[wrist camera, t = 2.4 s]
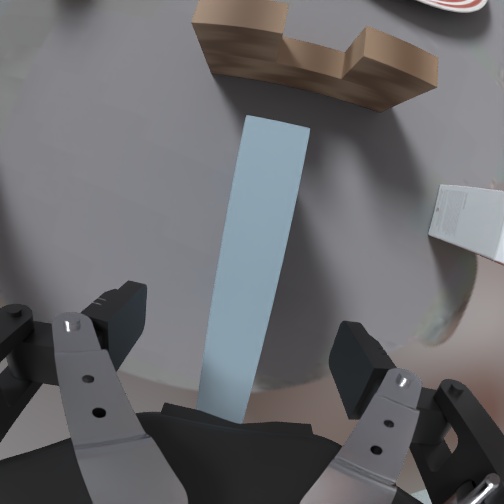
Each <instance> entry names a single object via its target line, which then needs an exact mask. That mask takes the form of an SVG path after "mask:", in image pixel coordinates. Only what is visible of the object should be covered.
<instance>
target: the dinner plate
mask: <svg viewBox="0 0 504 504" xmlns="http://www.w3.org/2000/svg"><path fill="white" fill-rule="evenodd" d="M416 1H419V2H421V3H424V4H427V5H429V6H432V7H435V8H439V9H442V10H446V11H451V12H459V13H470V12H475V11H478V10H480V9H481V8H483V7H484V6H485V4H486V3H487V0H416Z"/></svg>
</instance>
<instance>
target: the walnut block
mask: <svg viewBox="0 0 504 504" xmlns="http://www.w3.org/2000/svg"><path fill="white" fill-rule="evenodd" d="M288 7H289V4H286V3H280V2H275V1H269V0H199V2H198V5H197V8H196V10H195V13H194V16H193V19H192V22H191V23H192V25H193V28H194V30H195V33H196V35H197V38H198V41H199V43H200V46H201V48H202V51H203V53H204V56H205V59H206V61H207V64H208V66H209V69H210V72H211V73H214V74H222V75H229V76H236V77H243V78H249V79H255V80H260V81H266V82H271V83H276V84H281V85H286V86H290V87H295V88H299V89H303V90H307V91H311V92H315V93H319V94H323V95H326V96H330V97H333V98H337V99H340V100H344V101H347V102H350V103H353V104H356V105H360V106H363V107H366V108H369V109H372V110H374V111H377V112H382V111H384V110H387V109H389V108H391V107H393V106H395V105H398V104H400V103H402V102H404V101H407V100H409V99H411V98H413V97H416V96H418V95H420V94H423V93H425V92H427V91H430V90H432V89H435V88H437V83H438V57H436V56H434V55H432V54H430V53H428V52H426V51H424V50H422V49H420V48H418V47H416V46H414V45H412V44H410V43H407V42H405V41H403V40H401V39H398V38H396V37H394V36H391V35H389V34H386V33H384V32H381V31H379V30H376V29H374V28H371V27H368V26H366V27H365V28H364V30H363V31H362V32H361V33H360V35H359V36H358V37H357V38H356V39H355V41H354V42H353V43H352V44H351V46H350V47H349V48H348V49H347V51H346V52H345V53H344V52H341V51H338V50H334V49H331V48H327V47H324V46H320V45H316V44H313V43H309V42H304V41H300V40H296V39H291V38H287V37H282V35H283V30H284V26H285V21H286V16H287V12H288Z"/></svg>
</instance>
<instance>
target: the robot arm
mask: <svg viewBox="0 0 504 504" xmlns="http://www.w3.org/2000/svg"><path fill="white" fill-rule="evenodd" d="M146 299H147V286H146V284H142V283H137V282H133V281H127V282H126V283H125V284H124V285H123V286H121V287H120V288H119V289H118V290H117V289H113V290H110V291H107V292H105V293H103V294H102V295H101V296H100V297H99V298H97V299H96V300H95V301H94V303H91V304H90V305H89V306H88V307H87V308H85V309H84V310H83V311H82V312H81V313H76V312H67V313H62V314H59V315H57V316H56V317H54V318H53V320H52V324H50V323H43V322H36V321H33V314H32V310H31V309H30V308H29V307H27V306H25V305H21V304H11V305H6V306H4V307H2V308H0V362H1V361H2V360H3V359H4V358H5V357H6V359H7V362H8V366H7V367H6V368H5V369H4V371H2V373H1V374H0V442H1V441H2V439H3V438H4V436H5V435H6V433H7V432H8V430H9V429H10V427H11V426H12V424H13V423H14V422H15V420H16V419H17V418H18V416H19V415H20V413H21V412H22V411H23V409H24V408H25V407H26V405H27V404H28V403H29V401H30V399H31V398H32V397H33V396H34V394H35V393H36V392H37V390H38V389H39V388H40V386H41V385H42V384H43V383H44V384H50V385H57V386H59V387H60V392H61V398H62V402H63V407H64V412H65V416H66V420H67V424H68V428H69V432H70V435H71V438H69V439H65V440H63V441H60V442H57V443H54V444H51V445H48V446H45V447H42V448H39V449H36V450H33V451H30V452H26V453H23V454H20V455H16V456H13V457H9V458H6V459H3V460H0V504H423V503H422V502H420V501H419V500H417V499H416V498H414V497H412V496H411V495H409V494H408V493H406V492H405V491H403V490H402V489H400V488H399V487H397V486H396V481H397V479H398V476H399V474H400V471H401V468H402V466H403V463H404V460H405V458H406V455H407V452H408V449H409V448H410V450H411V453H412V455H413V457H414V459H415V462H416V465H417V467H418V469H419V472H420V474H421V476H422V479H423V481H424V484H425V487H426V489H427V492H428V494H429V497H430V499H431V502H432V504H504V435H503V433H502V432H501V430H500V429H499V428H498V426H497V425H496V424H495V422H494V421H493V420H492V418H491V417H490V416H489V414H488V413H487V412H486V411H485V409H484V408H483V407H482V405H481V404H480V403H479V402H478V400H477V399H476V398H475V396H474V395H473V394H472V393H471V391H470V390H469V389H468V388H467V387H466V386H465V385H464V384H462V383H460V382H458V381H455V380H451V379H445V380H443V381H442V382H441V384H440V385H439V387H438V389H437V390H433V389H428V388H423V387H422V381H421V380H420V378H419V377H418V376H417V375H415V374H414V373H412V372H410V371H408V370H405V369H400V368H397V367H396V366H395V364H394V363H393V362H392V360H391V359H390V357H389V356H388V355H387V353H386V352H385V350H383V347H382V346H381V345H380V343H379V342H378V341H377V340H376V339H374V338H373V337H372V336H370V335H369V334H368V333H367V331H366V330H365V328H364V327H363V325H362V324H361V323H358V322H350V321H343V322H342V323H341V324H340V327H339V329H338V332H337V335H336V338H335V341H334V344H333V347H332V350H331V352H330V356H329V367H330V370H331V373H332V375H333V378H334V380H335V383H336V386H337V389H338V391H339V394H340V397H341V399H342V402H343V405H344V407H345V410H346V413H347V416H348V418H349V419H360V420H359V422H358V424H357V425H356V427H355V428H354V430H353V431H352V433H351V434H350V436H349V437H348V439H347V441H346V442H345V443H344V445H343V446H341V445H339V444H338V443H336V442H333V441H332V440H329V439H327V438H324V437H321V436H318V435H314V434H313V432H312V427H311V424H301V423H287V422H265V423H247V424H239V423H234V422H231V421H228V420H225V419H222V418H220V417H217V416H214V415H211V414H209V413H206V412H203V411H201V410H195V409H191V408H186V407H182V406H177V405H173V404H169V403H164V405H163V408H162V411H161V412H143V413H136V414H135V412H134V410H133V408H132V406H131V404H130V402H129V400H128V398H127V396H126V393H125V391H124V389H123V387H122V385H121V383H120V380H119V378H118V376H117V373H116V372H117V370H118V369H119V367H120V366H121V364H122V362H123V361H124V359H125V358H126V356H127V355H128V353H129V352H130V350H131V349H132V347H133V346H134V344H135V343H136V341H137V340H138V338H139V337H140V335H141V334H142V332H143V329H144V325H145V315H146ZM451 427H452V428H453V429H454V431H455V432H456V434H457V436H458V445H457V448H456V449H455V451H454V452H453V453H451V451H450V449H449V448H448V446H447V444H446V443H445V440H444V437H445V436H446V434H447V433H448V431H449V430H450V429H451Z"/></svg>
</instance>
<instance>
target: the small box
mask: <svg viewBox="0 0 504 504" xmlns="http://www.w3.org/2000/svg"><path fill="white" fill-rule="evenodd" d="M428 235H429V236H432V237H435V238H437V239H440V240H443V241H445V242H448V243H450V244H453V245H455V246H458V247H461V248H463V249H466V250H468V251H470V252H473V253H475V254H478V255H480V256H482V257H485V258H487V259H490V260H492V261H495V262H497V263H499V264H501V265H504V191H499V190H490V189H483V188H475V187H465V186H454V185H440V188H439V192H438V197H437V201H436V205H435V210H434V214H433V218H432V222H431V225H430V229H429V233H428Z"/></svg>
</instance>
